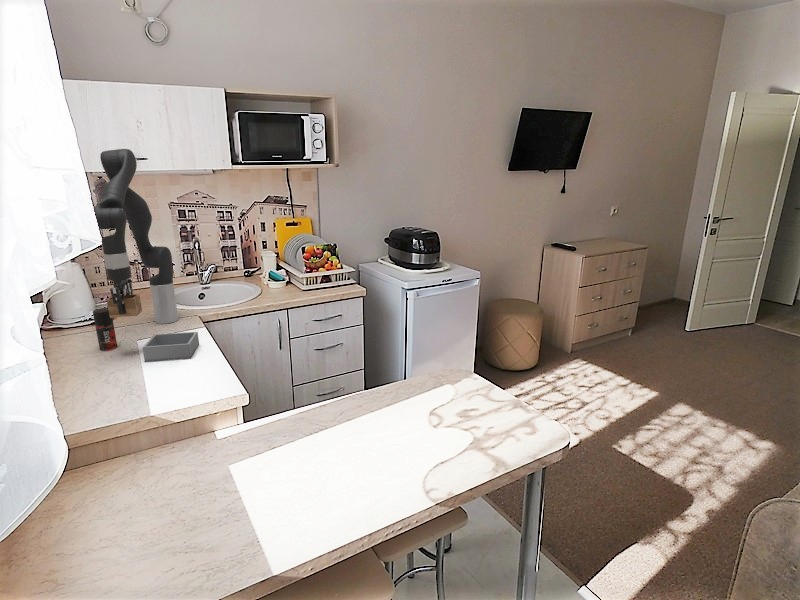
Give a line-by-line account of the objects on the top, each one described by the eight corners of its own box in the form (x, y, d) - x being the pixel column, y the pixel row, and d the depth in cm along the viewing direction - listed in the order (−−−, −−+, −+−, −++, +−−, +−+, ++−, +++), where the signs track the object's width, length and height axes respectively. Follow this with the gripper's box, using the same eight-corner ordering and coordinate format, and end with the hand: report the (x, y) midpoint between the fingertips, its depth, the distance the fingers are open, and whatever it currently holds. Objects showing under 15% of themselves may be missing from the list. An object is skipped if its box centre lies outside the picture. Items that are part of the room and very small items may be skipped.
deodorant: (104, 351, 187) (96, 313, 183) (97, 348, 190) (89, 310, 186) (120, 347, 191) (113, 309, 187) (113, 344, 195) (106, 307, 191)
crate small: (116, 312, 183) (112, 295, 181) (142, 311, 185) (139, 294, 183) (109, 317, 178) (106, 300, 176) (137, 316, 179) (134, 298, 177)
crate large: (156, 348, 190) (154, 334, 188) (199, 345, 192) (197, 331, 191) (144, 361, 177) (142, 347, 175) (191, 358, 179) (189, 344, 178)
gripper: (113, 262, 182) (121, 306, 187) (97, 270, 169) (107, 318, 173) (135, 260, 183) (143, 304, 188) (121, 269, 170) (130, 316, 175)
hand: (125, 311), depth 181 cm, fingers closed on crate small, 6 cm apart
